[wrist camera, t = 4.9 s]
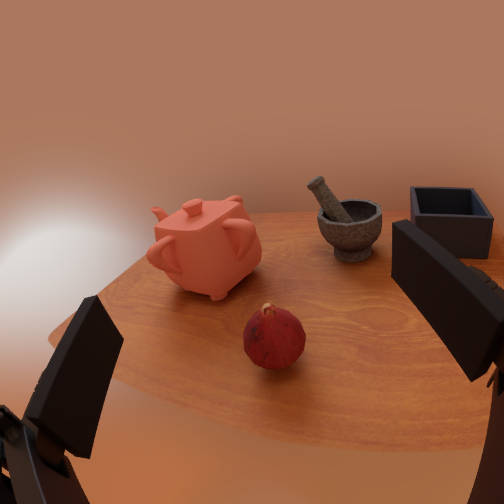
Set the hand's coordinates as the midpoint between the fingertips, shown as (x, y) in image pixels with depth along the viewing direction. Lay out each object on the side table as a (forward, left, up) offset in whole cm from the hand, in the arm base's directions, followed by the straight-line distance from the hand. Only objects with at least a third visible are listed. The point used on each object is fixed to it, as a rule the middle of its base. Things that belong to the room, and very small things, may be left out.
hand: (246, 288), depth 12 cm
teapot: (+31, +2, -17) cm, 35 cm away
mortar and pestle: (+25, -19, -17) cm, 35 cm away
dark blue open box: (+18, -35, -17) cm, 42 cm away
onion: (+10, -2, -17) cm, 20 cm away
